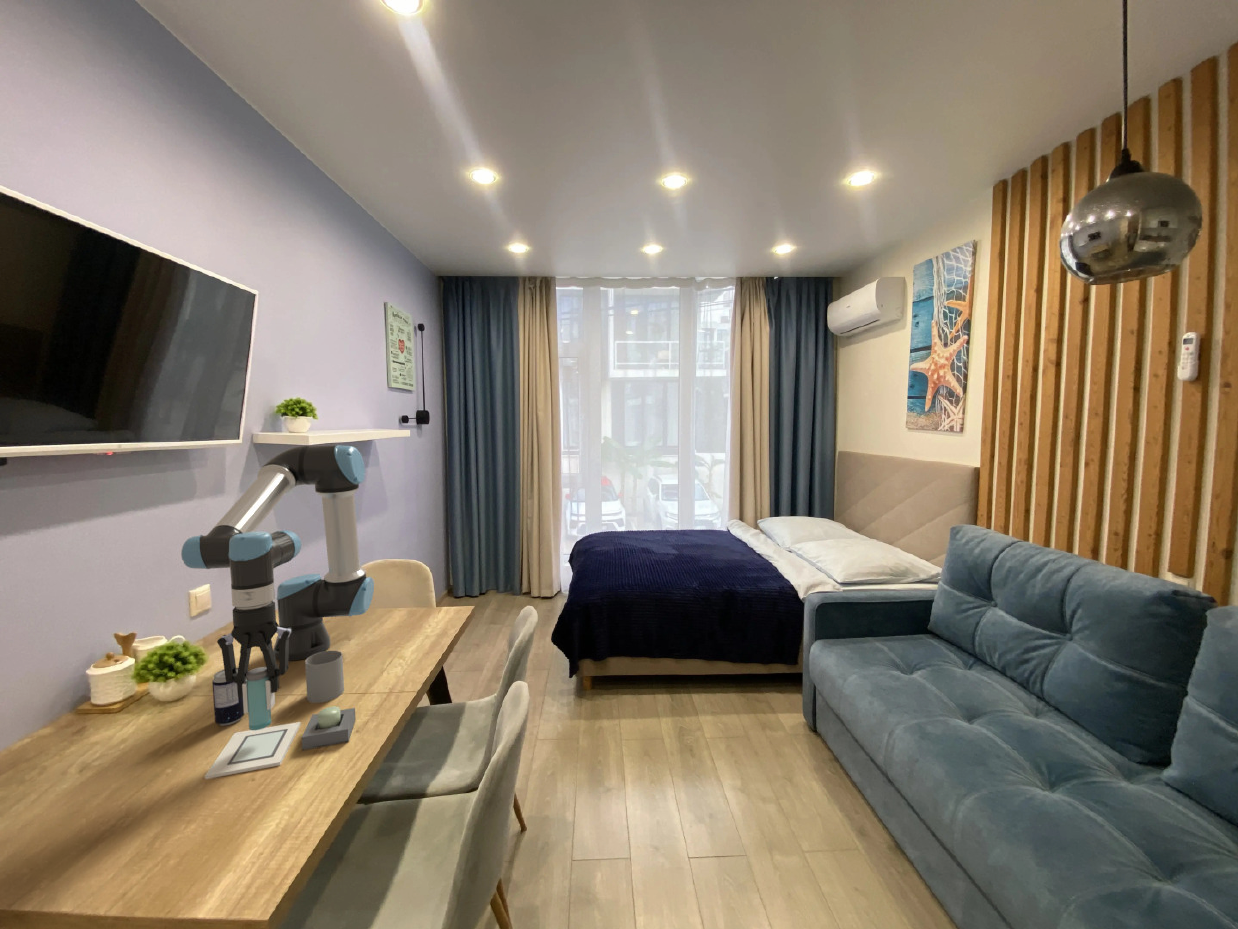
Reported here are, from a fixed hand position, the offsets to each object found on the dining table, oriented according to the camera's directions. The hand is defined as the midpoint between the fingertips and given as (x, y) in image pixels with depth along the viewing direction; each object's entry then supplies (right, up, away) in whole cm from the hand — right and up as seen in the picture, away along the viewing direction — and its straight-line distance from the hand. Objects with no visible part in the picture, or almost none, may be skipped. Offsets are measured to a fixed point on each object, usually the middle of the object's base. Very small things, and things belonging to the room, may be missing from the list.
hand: (259, 708), depth 111 cm
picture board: (0, -9, -1) cm, 9 cm away
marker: (0, -4, 0) cm, 4 cm away
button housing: (+13, -8, +4) cm, 16 cm away
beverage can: (-14, -8, +10) cm, 19 cm away
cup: (+2, -7, +22) cm, 23 cm away
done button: (+13, -6, +4) cm, 15 cm away
